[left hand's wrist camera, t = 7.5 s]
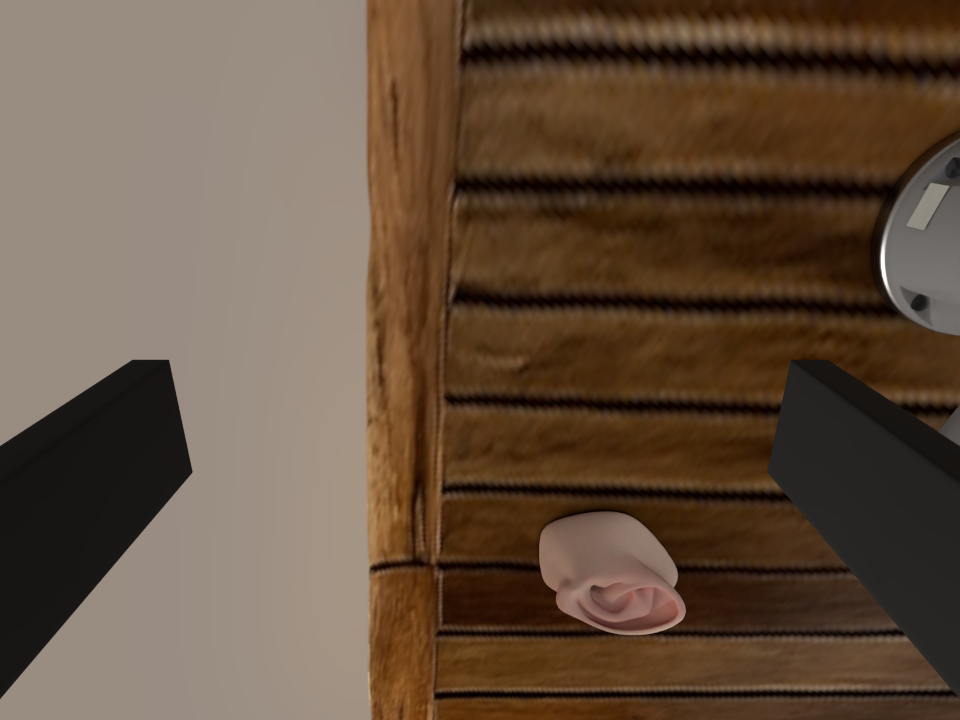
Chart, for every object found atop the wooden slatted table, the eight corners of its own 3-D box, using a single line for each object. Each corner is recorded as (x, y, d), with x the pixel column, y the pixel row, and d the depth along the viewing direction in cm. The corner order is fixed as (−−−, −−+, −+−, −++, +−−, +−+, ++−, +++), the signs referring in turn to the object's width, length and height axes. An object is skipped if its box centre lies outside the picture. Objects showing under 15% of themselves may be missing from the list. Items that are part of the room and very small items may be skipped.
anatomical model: (519, 567, 49) (644, 513, 47) (516, 536, 53) (632, 485, 51) (585, 668, 53) (702, 622, 51) (578, 633, 57) (687, 589, 55)
